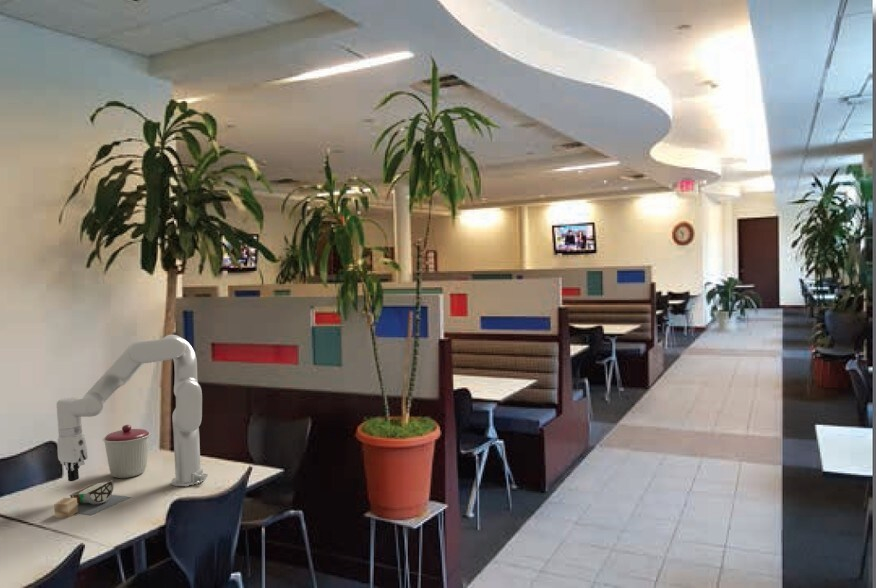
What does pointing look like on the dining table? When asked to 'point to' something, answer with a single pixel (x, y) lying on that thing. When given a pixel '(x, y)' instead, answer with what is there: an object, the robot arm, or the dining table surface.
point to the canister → (127, 451)
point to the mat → (100, 505)
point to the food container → (94, 493)
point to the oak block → (66, 507)
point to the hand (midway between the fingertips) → (73, 479)
